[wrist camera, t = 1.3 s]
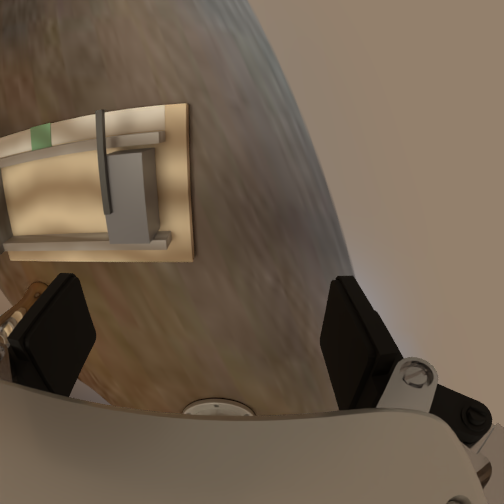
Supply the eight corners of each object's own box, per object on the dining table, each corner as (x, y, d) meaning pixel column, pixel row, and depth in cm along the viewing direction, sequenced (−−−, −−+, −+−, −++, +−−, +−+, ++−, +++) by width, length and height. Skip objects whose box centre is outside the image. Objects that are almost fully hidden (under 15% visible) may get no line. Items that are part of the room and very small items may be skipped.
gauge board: (194, 255, 33) (185, 287, 27) (16, 255, 32) (-11, 278, 26) (188, 103, 26) (174, 99, 20) (-4, 139, 25) (-38, 148, 19)
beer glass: (20, 290, 34) (-35, 355, 20) (41, 270, 33) (-22, 340, 19) (48, 325, 37) (3, 396, 23) (72, 310, 35) (23, 388, 22)
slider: (160, 227, 29) (148, 246, 25) (124, 228, 29) (107, 246, 25) (153, 105, 24) (137, 104, 20) (114, 110, 24) (93, 111, 20)
